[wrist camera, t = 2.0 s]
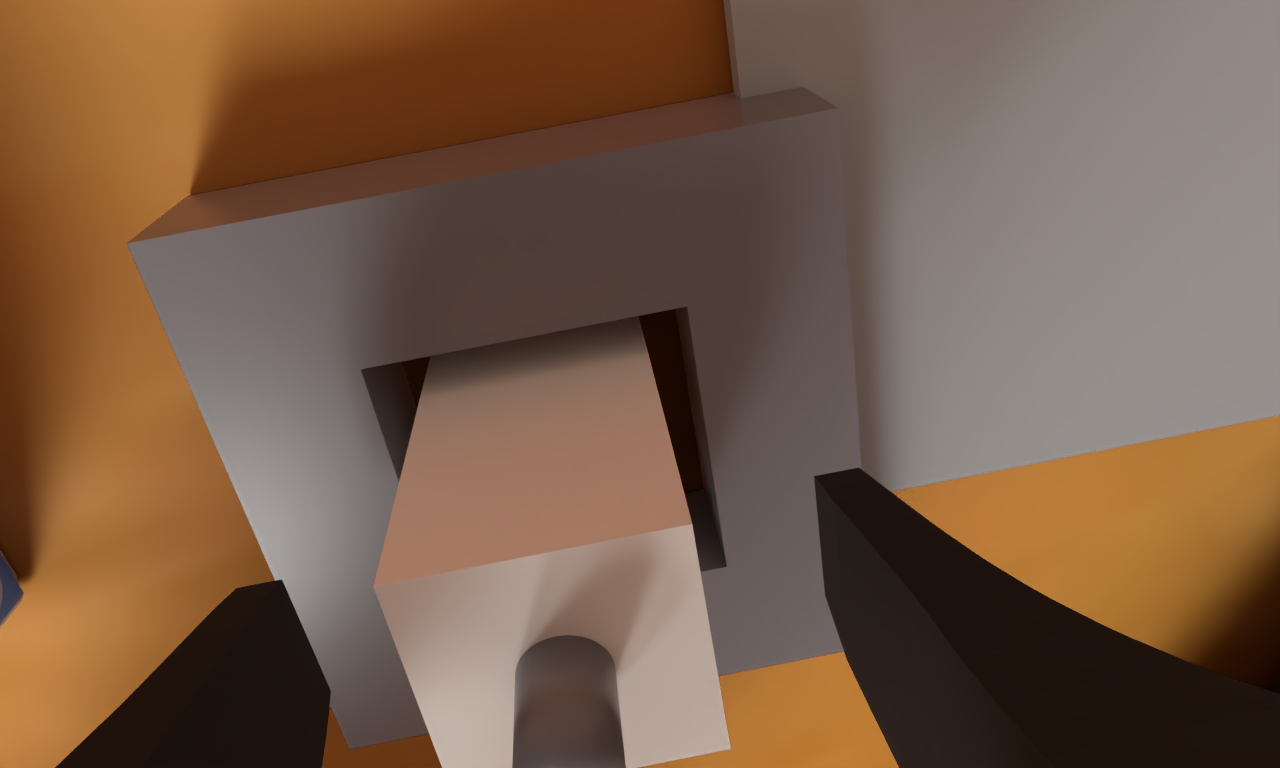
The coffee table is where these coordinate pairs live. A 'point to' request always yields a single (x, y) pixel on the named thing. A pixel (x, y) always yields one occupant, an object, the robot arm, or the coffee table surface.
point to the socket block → (518, 308)
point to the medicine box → (8, 590)
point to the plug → (550, 561)
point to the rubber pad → (1044, 217)
